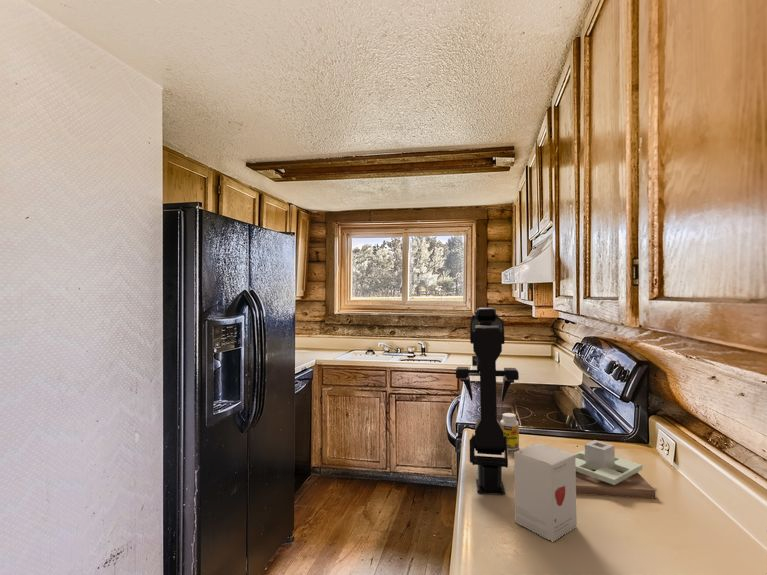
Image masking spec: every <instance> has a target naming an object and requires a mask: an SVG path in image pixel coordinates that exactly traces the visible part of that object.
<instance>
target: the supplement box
mask: <svg viewBox="0 0 767 575" xmlns="http://www.w3.org/2000/svg"><path fill="white" fill-rule="evenodd" d="M513 452H514V453H513V458H514V470H513V471H514V476H513V477H514V478H513V479H514V523H515V522H516V523H515V524H517V523H518V524H517V525H519V524H520V525H519V526H521V525H522V526H524V527H526V528H528V529H530V530H532V531H533V532H532V531H531V532H532V533H534V532H535V533H534V534H536V533H537V534H536V535H538V534H539V535H538V536H540V537H542V538H544V539H546V540H547V539H548V540H547V541H549V540H551V541H554V542H556V541H557V540H559V539H561V538H562V537H564V536H565V535H567V534H569V533H570V532H571V531H573V530H575V529H576V528H577V525H578V524H577V522H578V521H577V494H576V464H575V453H571V452H569V451H566V450H561V449H559V448H555V447H553V446H550V445H547V444H543V443H539V442H537V443H535V444H532V445H529V446H526V447H524V448H521V449H519V450H515V451H513ZM522 526H521V527H522ZM524 527H523V528H524ZM526 528H525V529H526ZM574 528H575V529H574ZM528 529H527V530H528ZM572 529H573V530H572ZM530 530H529V531H530ZM570 530H571V531H570ZM569 531H570V532H569ZM566 533H567V534H566ZM564 534H565V535H564ZM563 535H564V536H563ZM561 536H562V537H561ZM560 537H561V538H560ZM558 538H559V539H558ZM556 539H557V540H556ZM555 540H556V541H555ZM551 541H550V542H551Z"/></svg>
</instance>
